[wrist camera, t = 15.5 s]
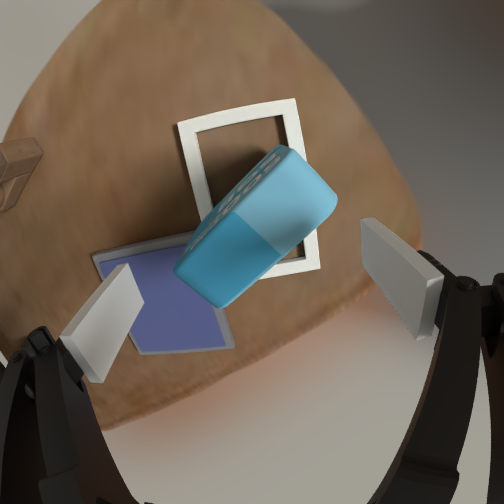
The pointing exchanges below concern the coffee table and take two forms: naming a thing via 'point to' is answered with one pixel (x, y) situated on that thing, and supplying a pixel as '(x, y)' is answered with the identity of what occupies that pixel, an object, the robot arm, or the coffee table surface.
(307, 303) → the coffee table surface
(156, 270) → the ink pad
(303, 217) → the data package
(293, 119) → the frame
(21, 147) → the brown wooden mallet
